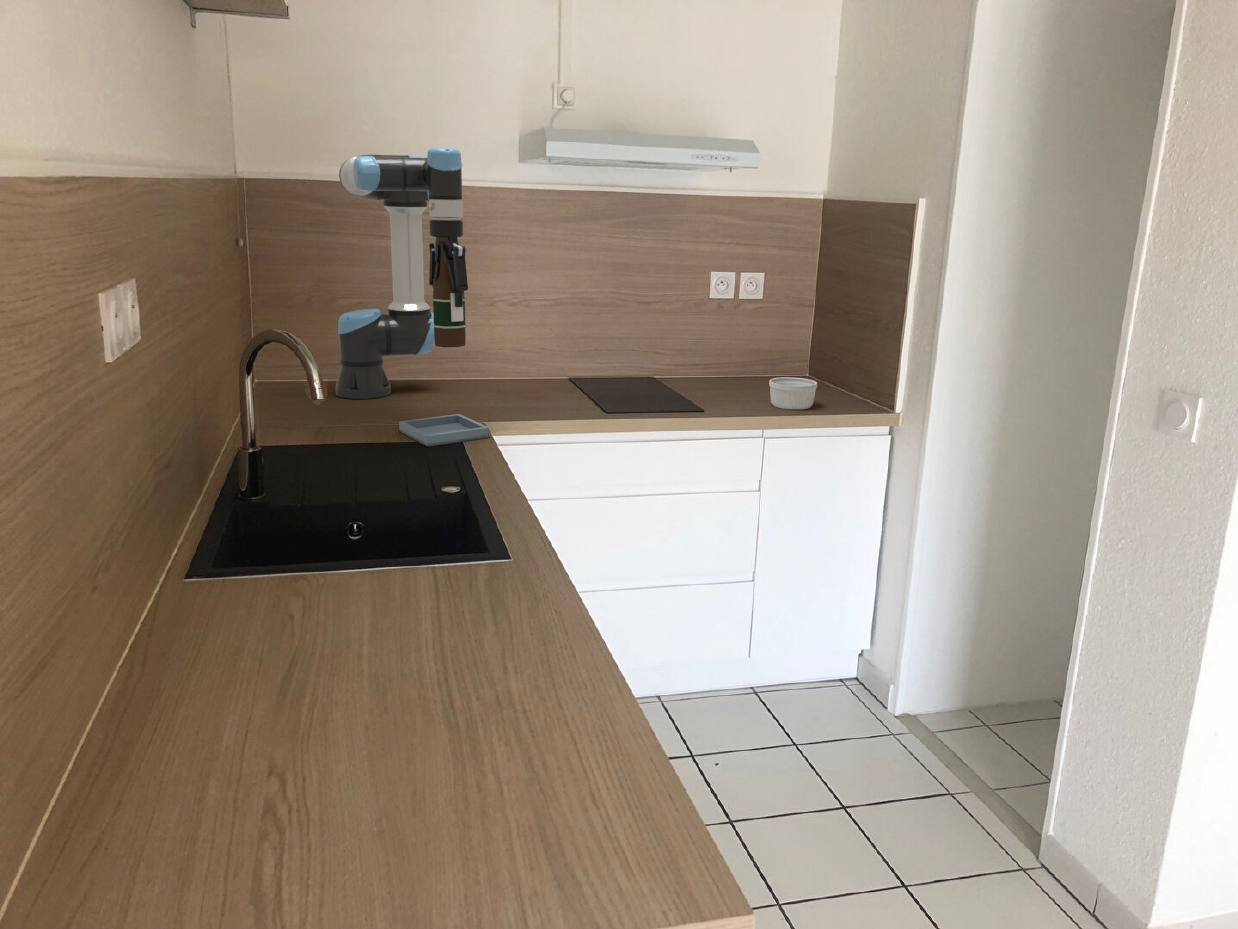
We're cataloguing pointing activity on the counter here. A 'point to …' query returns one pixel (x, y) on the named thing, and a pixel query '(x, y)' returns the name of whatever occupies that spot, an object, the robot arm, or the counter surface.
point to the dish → (443, 430)
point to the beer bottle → (446, 312)
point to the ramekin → (792, 393)
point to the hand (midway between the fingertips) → (449, 318)
